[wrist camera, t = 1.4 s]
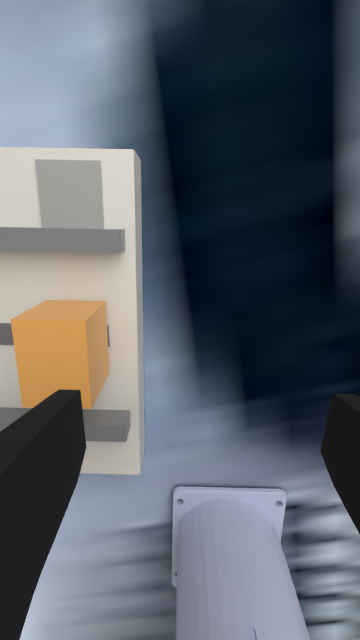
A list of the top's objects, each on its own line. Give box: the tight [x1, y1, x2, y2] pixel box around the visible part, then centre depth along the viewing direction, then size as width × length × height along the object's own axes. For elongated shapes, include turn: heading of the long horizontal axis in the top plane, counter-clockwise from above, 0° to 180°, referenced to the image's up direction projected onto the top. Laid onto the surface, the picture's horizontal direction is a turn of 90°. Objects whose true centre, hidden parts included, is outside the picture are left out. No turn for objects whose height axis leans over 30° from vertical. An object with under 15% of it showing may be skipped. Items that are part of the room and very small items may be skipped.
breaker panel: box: [0, 147, 145, 475], centre depth 18 cm, size 18×14×4 cm
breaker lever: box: [11, 300, 109, 409], centre depth 15 cm, size 4×3×4 cm
